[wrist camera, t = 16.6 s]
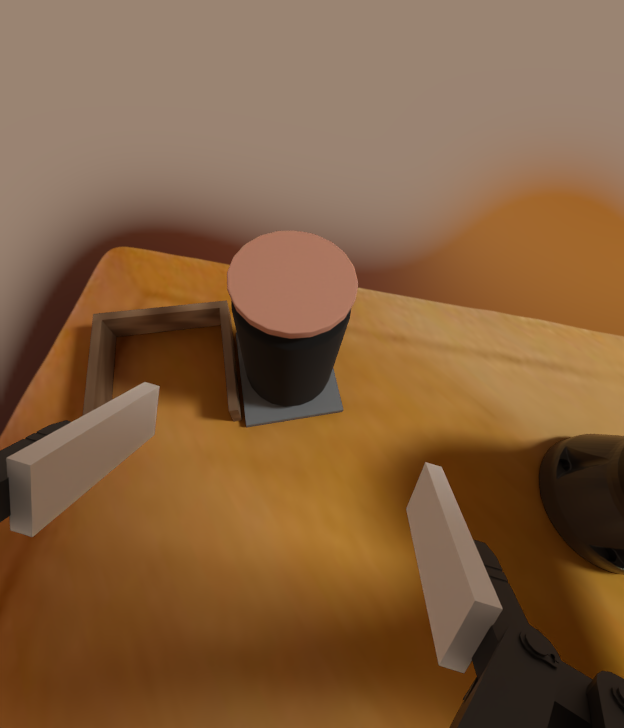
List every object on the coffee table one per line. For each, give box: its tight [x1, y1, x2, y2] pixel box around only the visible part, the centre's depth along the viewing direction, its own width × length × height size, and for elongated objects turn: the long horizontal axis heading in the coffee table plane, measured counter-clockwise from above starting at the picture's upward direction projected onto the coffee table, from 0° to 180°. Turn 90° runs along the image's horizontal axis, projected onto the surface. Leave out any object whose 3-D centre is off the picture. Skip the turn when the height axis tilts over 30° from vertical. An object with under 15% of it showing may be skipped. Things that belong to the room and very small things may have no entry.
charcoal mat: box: [236, 333, 343, 427], centre depth 43 cm, size 12×13×1 cm
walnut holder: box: [83, 301, 242, 421], centre depth 40 cm, size 16×15×4 cm
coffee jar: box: [227, 231, 358, 407], centre depth 35 cm, size 11×11×18 cm
